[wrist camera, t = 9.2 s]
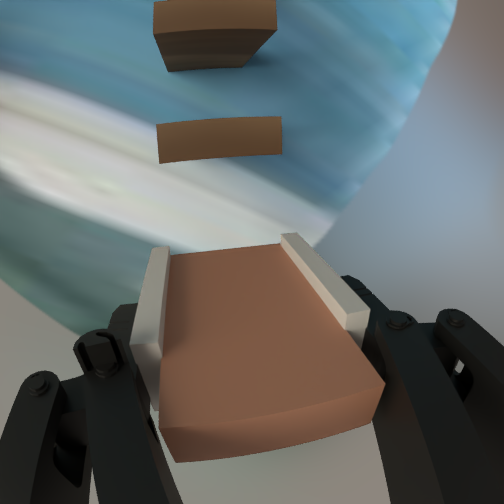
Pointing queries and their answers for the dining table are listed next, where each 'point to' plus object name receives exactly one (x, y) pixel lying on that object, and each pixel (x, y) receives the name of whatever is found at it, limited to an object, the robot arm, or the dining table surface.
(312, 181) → the dining table surface
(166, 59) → the domino
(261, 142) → the domino
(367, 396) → the domino
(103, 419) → the robot arm
